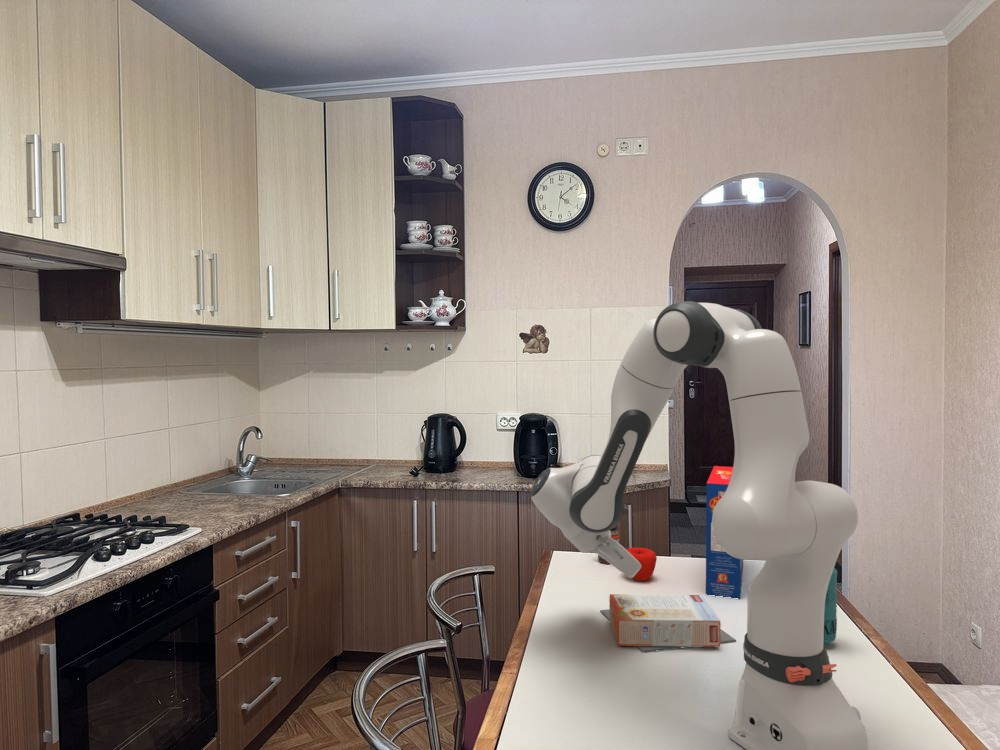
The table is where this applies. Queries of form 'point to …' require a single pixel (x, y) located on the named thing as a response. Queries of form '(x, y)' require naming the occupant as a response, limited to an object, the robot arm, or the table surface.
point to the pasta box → (719, 564)
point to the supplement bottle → (614, 536)
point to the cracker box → (664, 620)
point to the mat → (724, 639)
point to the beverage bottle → (830, 609)
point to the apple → (644, 562)
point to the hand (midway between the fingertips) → (632, 573)
